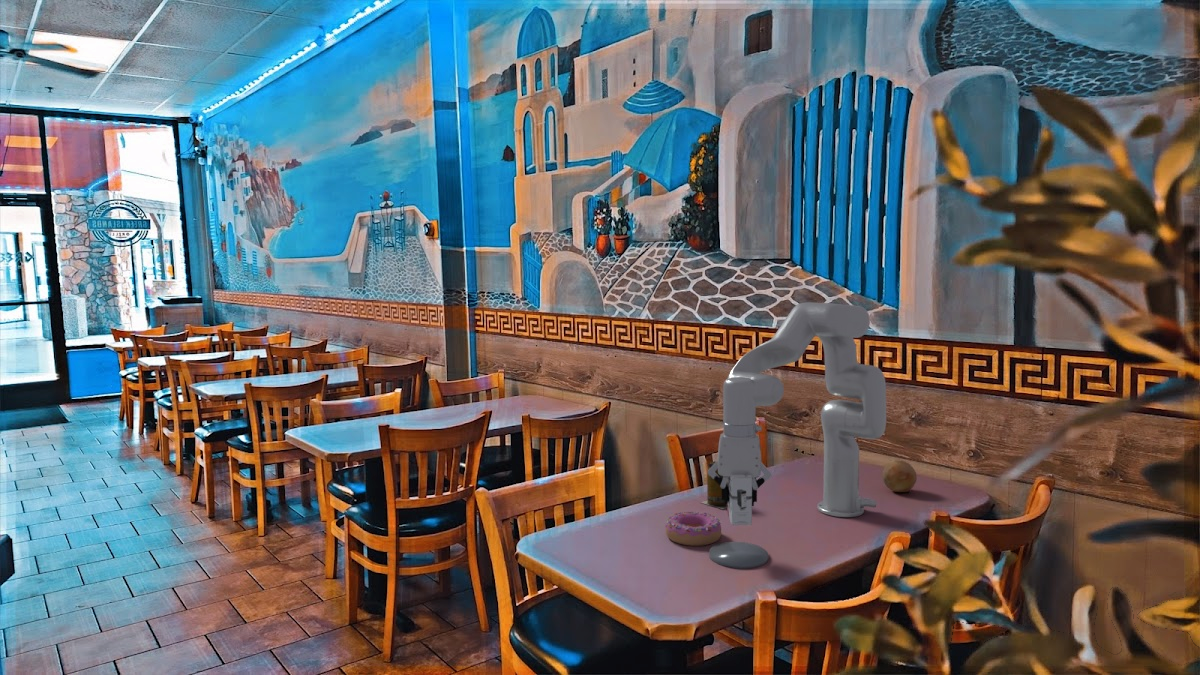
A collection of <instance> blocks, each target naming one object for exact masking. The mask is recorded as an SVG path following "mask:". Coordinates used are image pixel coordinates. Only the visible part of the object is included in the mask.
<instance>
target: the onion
mask: <svg viewBox="0 0 1200 675" xmlns="http://www.w3.org/2000/svg"><path fill="white" fill-rule="evenodd" d="M917 479H918V476H917V472H916V470H915V468H914V467H913V466H912V465H911V463H909V462H907V461H906V460H904V459H892V460H890V461H889V462H888V463H887V464H886V465H885V466H884V468H883V470H882V482H883V483H884V484H885V486H886V487H887V488H888V489H889V490H890V491H892V492H894V493H895V492H896V493H907V492H909V491H911V490H912V489H913V487H914V486H915V484H916V483H917V481H918V480H917Z"/></svg>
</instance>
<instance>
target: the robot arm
mask: <svg viewBox="0 0 1200 675" xmlns="http://www.w3.org/2000/svg"><path fill="white" fill-rule="evenodd" d="M870 324H871V319H870V315H869V312H868V310H867V309H866V308H865V307H864V306H862V305H854V304H851V305H850V304H843V303H841V304H840V303H832V302H813V301H812V302H811V301H810V302H809V301H808V302H800V303H798V304H797V305H795V306H794V307H793V308H792V309H791V310H790V312H789V313H788V315H787V316H786V317H785V319H784V321H783V322H782V324H781V325H780V326H779V327H778V330H777V331H776V332H775V333H774V335H773V337H772V338H771V339H769V340H767V341H765V342H763V343H762V344H759V345H758V346H756V347H755V348H753V349H751V350H750V351H747V352H746V353H744V354H743V356H741V357H740V358H739V359H738V361H737V362H736V363H735V365H734V366H733V368H732V369H731V370H730V373H729V374H728V376H727V378H726V379H725V380H724V382H723V390H722V391H723V395H722V396H723V397H722V400H723V401H722V402H723V403H722V404H723V406H722V408H723V411H722V412H723V417H722V418H723V421H722V422H723V423H722V424H723V425H722V427H723V428H722V430H723V432H722V433H720V436H719V440H718V441H719V442H718V449H717V451H718V452H717V460H716V462H715V464H714V465H713V466H712V467H711V468H710V469H709V468H708V470H707V473H708V475H709V476H711V477H712V478H713V479H714V480H715V481H716V482H717V483H718V484H719V485H720V487H721V488H722V500H724V505H727V504H728V486H727V481H728V478H729V477H730V475H752V507H755V503H757V501H758V489H759V488H760V487H761V486H762V485H763V484H765V482H766V481H768V480H770V478H772V475H773V473H772V472H771V471H770V470H769V469H768V467H767V466H765V465H764V463H763V462H762V454H761V453H762V452H761V451H762V449H761V442H760V436H759V434H758V432H762V428H763V427H762V425H759V424H757V423H756V417H757V416H756V413H757V412H756V409H757V407H771V406H774V405H776V404H777V403H779V402H780V401H781V400H782V398H783V396H784V392H785V388H784V387H785V386H784V383H783V382H782V381H781V380H780V378H778V376H774V375H772V374H767V373H766V374H765V373H763V372H765V371H768V370H770V369H774V368H778V367H782V366H786V365H789V364H790V365H791V364H793V363H796V362H797V361H799V360H800V359H801V358H802V356H803V354H804V353H805V352H806V350H807V348H808V346H809V345H811V342H812V341H813V339H814V338H815V337H818V339H819V340H820V341H821V344H822V347H823V352H824V376H825V378H824V379H825V386H826V391H828V393H829V394H831V395H833V396H836V397H843V398H849V399H856V400H861V402H859V401H852V400H851V401H850V400H846V399H845V400H844V399H832V400H829V401H827V402H826V403H825V404H823V406H822V408H821V410H820V423H821V428H822V434H823V489H822V491H823V495H822V496H823V497H822V500H821V501H819V502H818V503H817V505H816V506H817V510H818V511H819V512H820V513H822V514H824V515H827V516H831V517H837V518H855V517H860V516H861V515H863V514H864V512H865V507H869V508H877V500H875V499H871V498H869V497H865V498H864V497H862V496H860V494H859V489H860V488H859V485H860V484H859V482H860V481H859V480H860V478H859V477H860V448H859V445H858V442H857V441H856V438H861V439H867V440H877V439H880V438H881V437H882V436H883V435H884V433H885V432H886V426H887V388H886V387H887V386H886V378H885V375H884V373H883V371H882V369H880V368H879V367H877V366H876V365H875V366H874V365H871V364H862V363H859V362H858V359H857V358H858V355H857V354H858V353H857V344H856V342H855V340H854V339H856V338H857V339H858V338H861V337H863V336H864V335H865V334H866V333H867V332H868V331H869V328H870ZM717 469H718V474H719V475H720V476H723V478H721V477H720V476H719V475H717V474H716V473H715V471H716V470H717ZM761 472H762V473H763V475H762V476H761ZM707 473H706V474H707ZM757 478H758V479H757Z"/></svg>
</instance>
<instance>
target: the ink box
mask: <svg viewBox="0 0 1200 675" xmlns="http://www.w3.org/2000/svg"><path fill="white" fill-rule="evenodd" d="M726 509H727V512H726V514H727V516H728V518H729V521H730V524H731V526H752V525H753V506H752V475H730V477H729V478H728V504H727V508H726Z"/></svg>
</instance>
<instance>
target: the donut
mask: <svg viewBox="0 0 1200 675" xmlns="http://www.w3.org/2000/svg"><path fill="white" fill-rule="evenodd" d="M721 524H722V523H721V522H720V519H719V518H717V517H716V515H712V514H710V513H706V512H700V511H695V512H693V511H686V512H685V511H684V512H678V513H674V514H672V515H671V516H668V518H667V520H666V523H665V533H666V536H667V537H668V538H669V539H670V540H671V541H673V542H675V543H676V544H681V545H685V546H691V547H693V546H694V547H698V546H699V547H701V546H707V545H711V544H714V543H716V542H718V541H719V539H720V538H721V536H722V526H721Z"/></svg>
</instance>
